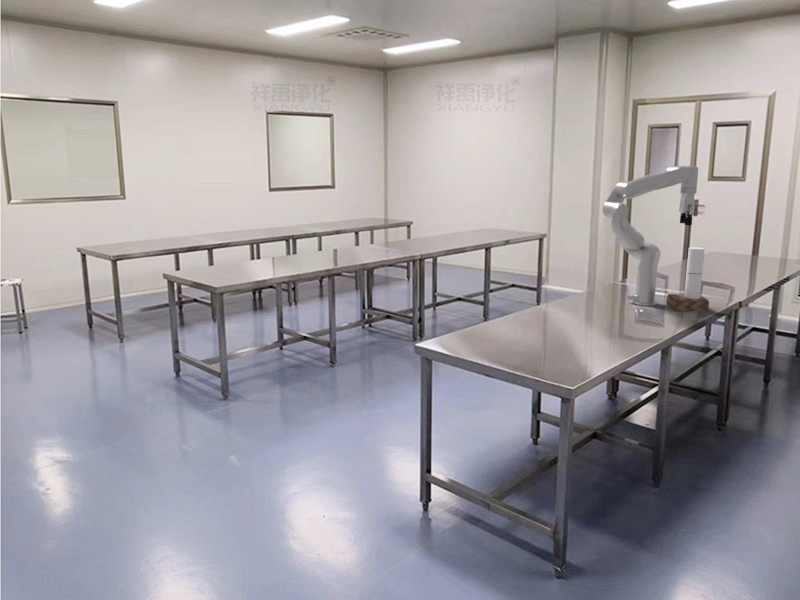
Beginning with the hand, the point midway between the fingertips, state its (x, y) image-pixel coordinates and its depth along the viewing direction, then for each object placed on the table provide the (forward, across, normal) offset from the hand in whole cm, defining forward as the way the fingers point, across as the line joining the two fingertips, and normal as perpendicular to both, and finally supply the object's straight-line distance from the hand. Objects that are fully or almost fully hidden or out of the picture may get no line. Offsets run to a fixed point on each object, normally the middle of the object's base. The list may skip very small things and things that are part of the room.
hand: (685, 224), depth 327 cm
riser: (+41, +15, 0) cm, 44 cm away
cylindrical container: (+36, +15, +2) cm, 39 cm away
